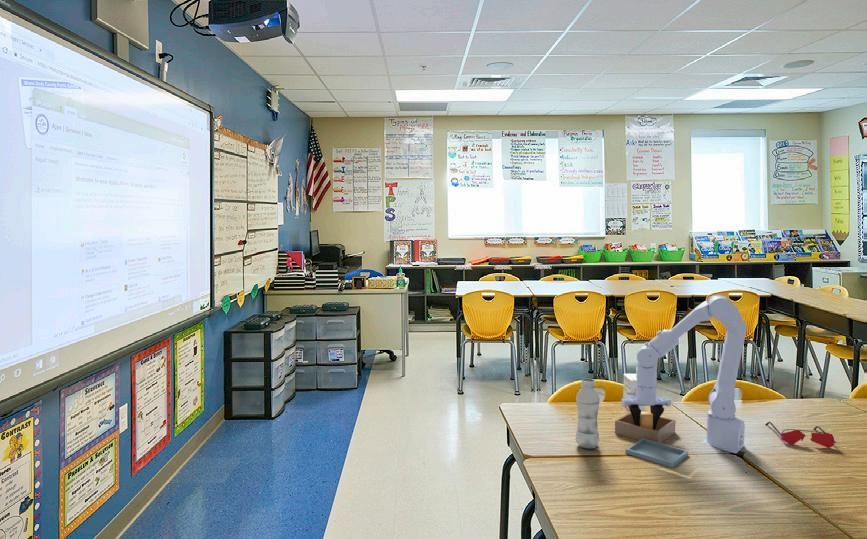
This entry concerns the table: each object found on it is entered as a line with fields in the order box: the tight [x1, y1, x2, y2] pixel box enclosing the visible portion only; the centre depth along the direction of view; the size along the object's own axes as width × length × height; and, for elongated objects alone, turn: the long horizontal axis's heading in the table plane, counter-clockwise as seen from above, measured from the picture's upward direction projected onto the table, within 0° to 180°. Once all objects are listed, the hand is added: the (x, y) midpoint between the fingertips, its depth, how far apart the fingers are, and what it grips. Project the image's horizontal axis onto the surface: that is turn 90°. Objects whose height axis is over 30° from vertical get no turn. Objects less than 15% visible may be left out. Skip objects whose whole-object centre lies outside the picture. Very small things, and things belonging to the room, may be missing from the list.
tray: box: [625, 438, 689, 469], centre depth 149 cm, size 13×11×2 cm
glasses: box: [764, 421, 837, 448], centre depth 163 cm, size 14×16×5 cm
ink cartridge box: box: [622, 365, 645, 412], centre depth 187 cm, size 9×5×15 cm, turn 179°
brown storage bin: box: [614, 411, 677, 443], centre depth 164 cm, size 13×13×4 cm
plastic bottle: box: [575, 377, 600, 450], centre depth 155 cm, size 6×7×20 cm
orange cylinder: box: [640, 410, 653, 430], centre depth 164 cm, size 4×4×6 cm
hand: (645, 428), depth 164 cm, fingers closed on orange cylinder, 4 cm apart
